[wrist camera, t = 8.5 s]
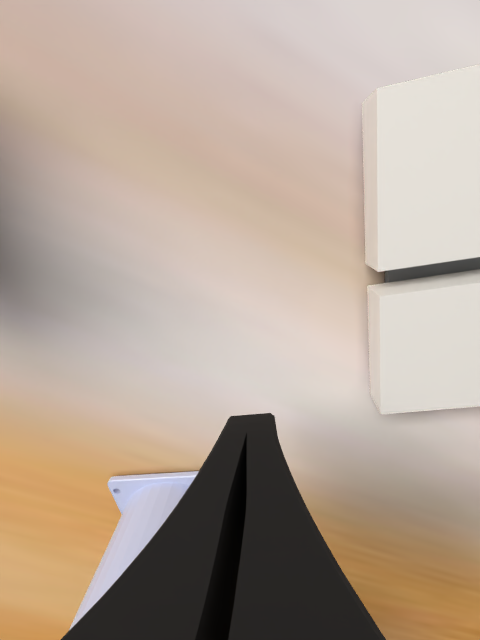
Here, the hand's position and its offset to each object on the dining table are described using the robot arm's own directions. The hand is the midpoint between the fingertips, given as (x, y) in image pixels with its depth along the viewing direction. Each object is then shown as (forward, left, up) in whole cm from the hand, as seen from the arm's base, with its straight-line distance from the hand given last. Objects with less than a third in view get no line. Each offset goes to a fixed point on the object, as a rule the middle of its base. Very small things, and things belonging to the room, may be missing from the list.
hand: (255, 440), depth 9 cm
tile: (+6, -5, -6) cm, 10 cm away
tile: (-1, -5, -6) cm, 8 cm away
